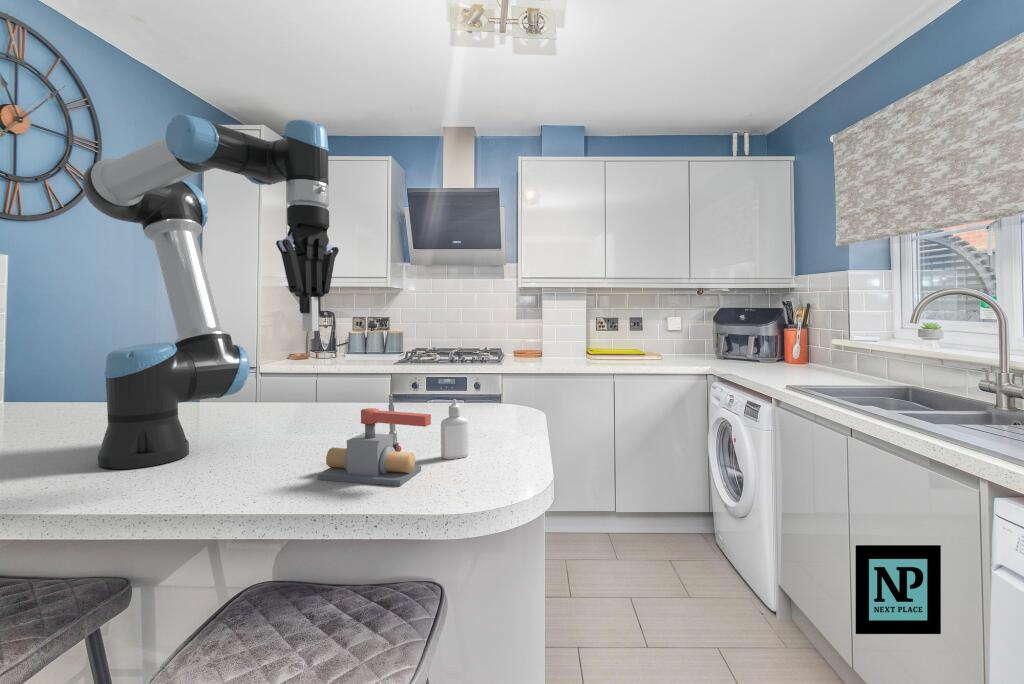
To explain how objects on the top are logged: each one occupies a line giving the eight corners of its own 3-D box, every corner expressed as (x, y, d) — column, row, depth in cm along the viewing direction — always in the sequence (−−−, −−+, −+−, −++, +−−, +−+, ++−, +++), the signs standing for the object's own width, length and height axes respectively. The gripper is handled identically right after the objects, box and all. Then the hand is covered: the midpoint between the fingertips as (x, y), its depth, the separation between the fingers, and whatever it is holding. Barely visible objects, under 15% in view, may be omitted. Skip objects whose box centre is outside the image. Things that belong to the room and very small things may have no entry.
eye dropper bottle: (466, 460, 104) (466, 401, 103) (439, 459, 104) (438, 401, 103) (469, 454, 108) (469, 398, 108) (443, 453, 108) (443, 397, 108)
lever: (357, 423, 93) (357, 410, 92) (367, 420, 96) (367, 407, 95) (423, 429, 88) (423, 415, 88) (432, 425, 91) (432, 412, 91)
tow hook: (347, 463, 103) (392, 461, 103) (343, 399, 103) (388, 398, 102) (361, 452, 112) (403, 451, 111) (357, 393, 111) (399, 392, 111)
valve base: (317, 479, 91) (316, 427, 91) (345, 465, 100) (344, 417, 100) (400, 486, 88) (399, 431, 87) (421, 470, 97) (420, 421, 96)
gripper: (292, 198, 90) (295, 332, 91) (348, 211, 101) (350, 330, 103) (264, 202, 94) (267, 331, 95) (321, 214, 105) (323, 329, 106)
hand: (310, 330), depth 99 cm, fingers closed
